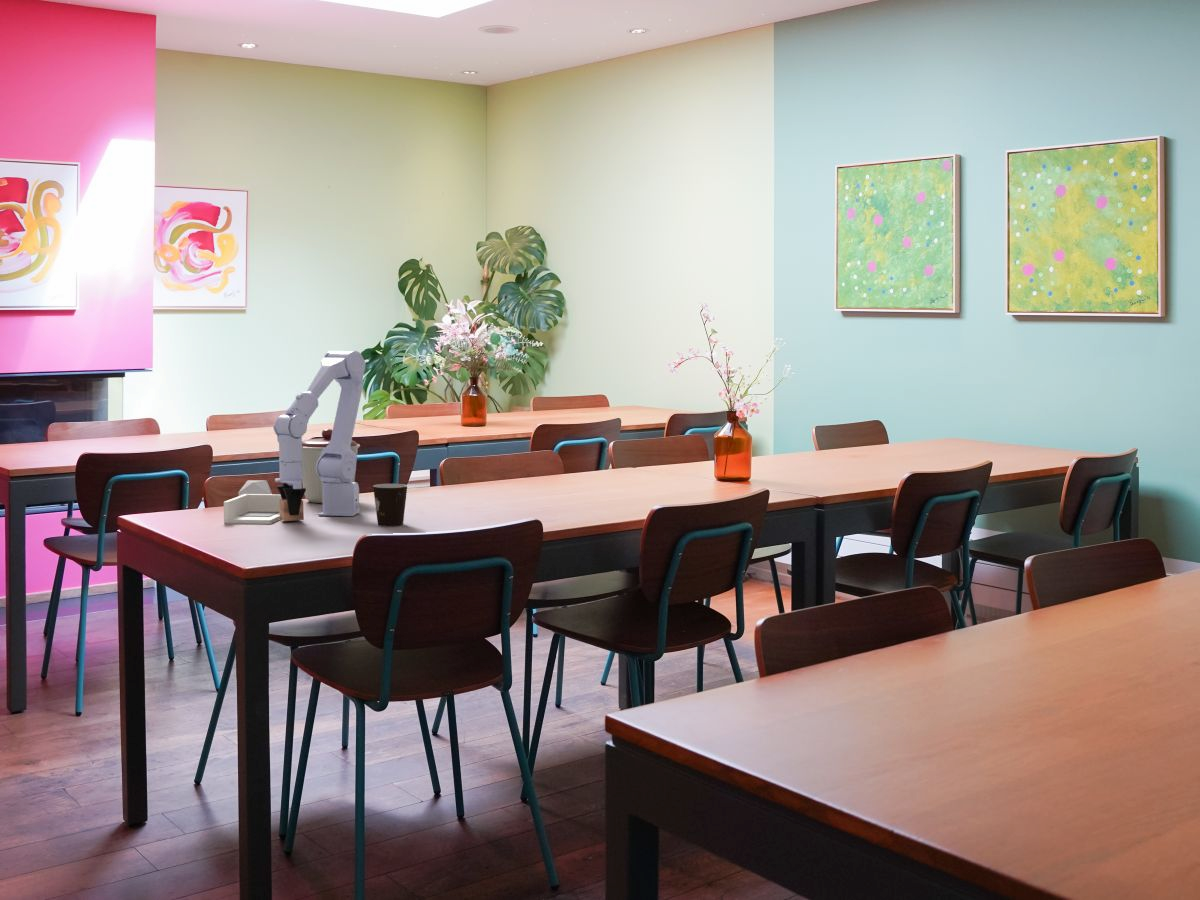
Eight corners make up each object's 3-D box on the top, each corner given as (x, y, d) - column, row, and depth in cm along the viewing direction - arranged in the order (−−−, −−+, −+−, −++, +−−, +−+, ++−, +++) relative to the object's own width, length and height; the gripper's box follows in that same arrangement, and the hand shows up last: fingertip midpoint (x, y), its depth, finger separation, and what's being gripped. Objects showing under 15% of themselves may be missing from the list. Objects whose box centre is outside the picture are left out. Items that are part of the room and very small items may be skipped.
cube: (299, 517, 328) (298, 498, 327) (303, 519, 323) (303, 500, 323) (279, 518, 326) (279, 499, 325) (284, 521, 321) (283, 501, 321)
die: (254, 515, 339) (276, 485, 341) (227, 498, 340) (249, 468, 343) (262, 522, 347) (283, 492, 350) (235, 505, 348) (257, 475, 351)
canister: (370, 503, 361) (370, 430, 359) (310, 507, 351) (309, 432, 349) (345, 496, 376) (345, 425, 374) (287, 500, 366) (286, 427, 364)
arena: (289, 515, 336) (288, 494, 335) (270, 524, 320) (269, 502, 319) (245, 514, 336) (244, 493, 336) (224, 523, 320) (223, 501, 320)
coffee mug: (375, 522, 325) (374, 483, 324) (408, 522, 326) (408, 483, 325) (370, 529, 313) (370, 489, 312) (405, 528, 314) (405, 489, 313)
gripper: (269, 459, 328) (269, 510, 329) (281, 464, 315) (282, 518, 316) (296, 458, 331) (296, 509, 332) (309, 463, 318) (310, 516, 319)
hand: (291, 513), depth 324 cm, fingers closed on cube, 5 cm apart
